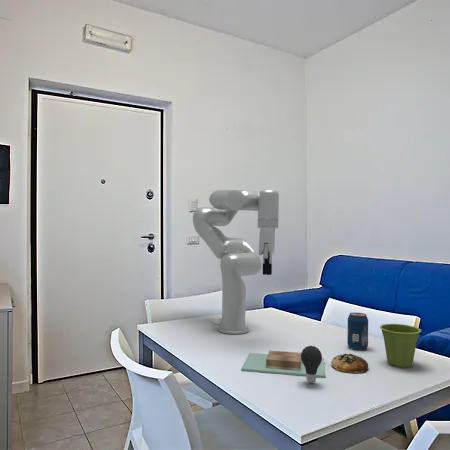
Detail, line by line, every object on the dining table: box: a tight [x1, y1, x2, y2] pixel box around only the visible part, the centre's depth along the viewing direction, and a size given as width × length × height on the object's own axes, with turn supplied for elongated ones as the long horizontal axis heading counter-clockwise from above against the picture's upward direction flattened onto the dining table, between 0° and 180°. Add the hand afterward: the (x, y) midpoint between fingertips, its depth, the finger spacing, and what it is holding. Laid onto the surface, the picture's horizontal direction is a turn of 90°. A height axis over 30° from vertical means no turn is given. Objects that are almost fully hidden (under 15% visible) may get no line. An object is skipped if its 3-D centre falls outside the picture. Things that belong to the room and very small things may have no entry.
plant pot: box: [379, 323, 422, 368], centre depth 128 cm, size 12×12×11 cm
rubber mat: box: [240, 352, 327, 379], centre depth 125 cm, size 24×16×1 cm, turn 78°
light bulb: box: [300, 345, 323, 385], centre depth 111 cm, size 6×6×10 cm
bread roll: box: [330, 353, 369, 374], centre depth 124 cm, size 11×11×5 cm
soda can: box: [347, 312, 369, 351], centre depth 145 cm, size 7×7×12 cm
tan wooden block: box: [266, 350, 302, 371], centre depth 125 cm, size 10×2×9 cm
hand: (267, 274), depth 150 cm, fingers closed
